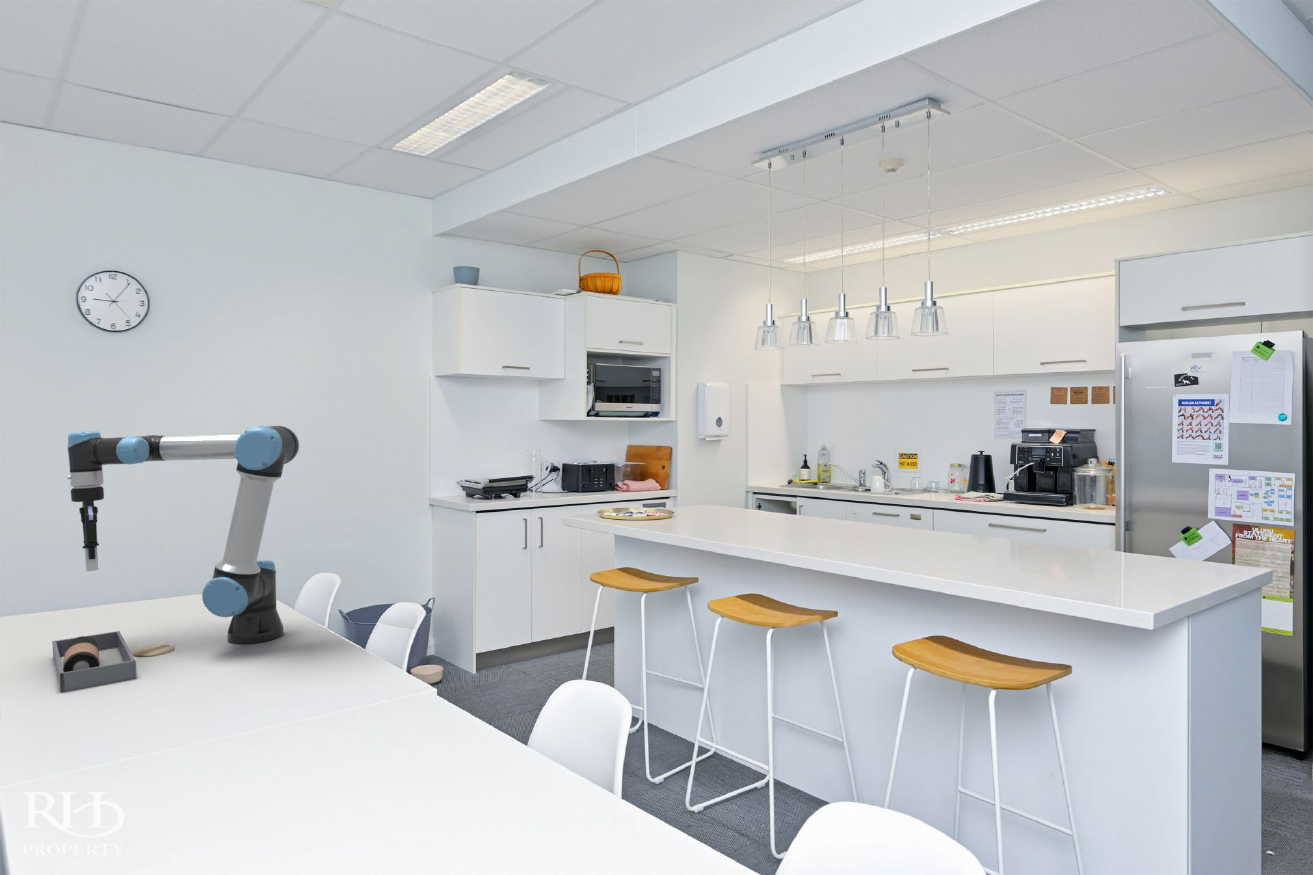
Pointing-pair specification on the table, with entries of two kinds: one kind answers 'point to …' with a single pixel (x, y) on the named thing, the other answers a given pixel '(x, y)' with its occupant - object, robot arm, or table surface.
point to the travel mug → (81, 654)
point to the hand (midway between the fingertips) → (92, 570)
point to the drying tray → (95, 674)
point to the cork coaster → (153, 650)
